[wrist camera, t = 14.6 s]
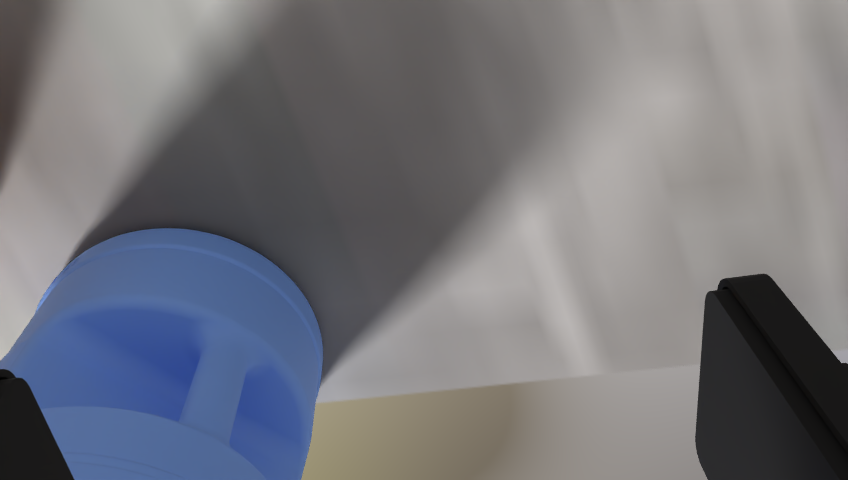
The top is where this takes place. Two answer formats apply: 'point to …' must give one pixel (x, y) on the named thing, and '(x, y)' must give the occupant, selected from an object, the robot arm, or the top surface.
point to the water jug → (174, 361)
